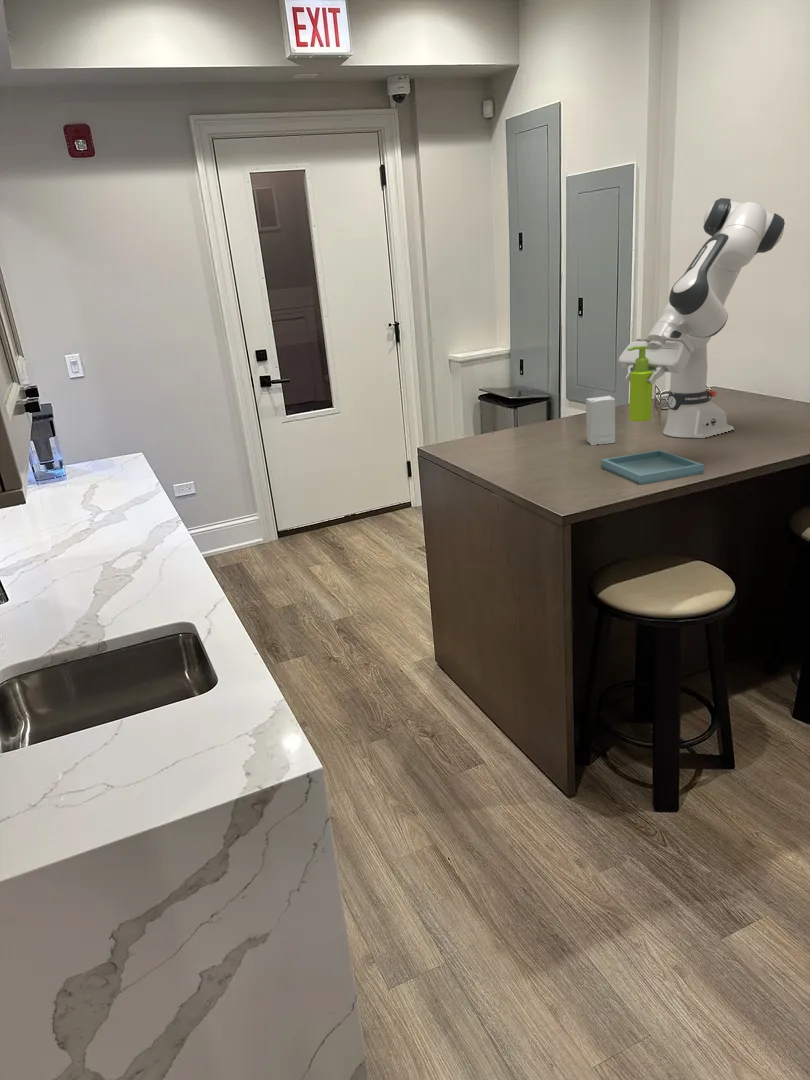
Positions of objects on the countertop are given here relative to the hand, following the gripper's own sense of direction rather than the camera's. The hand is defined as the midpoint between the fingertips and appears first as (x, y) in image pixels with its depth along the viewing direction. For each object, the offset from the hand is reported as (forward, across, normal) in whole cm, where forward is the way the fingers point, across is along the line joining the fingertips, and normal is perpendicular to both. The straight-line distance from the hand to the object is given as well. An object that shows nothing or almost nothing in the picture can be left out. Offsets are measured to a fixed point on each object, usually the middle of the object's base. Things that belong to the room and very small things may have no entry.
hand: (638, 381), depth 202 cm
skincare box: (+6, -30, +30) cm, 43 cm away
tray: (+16, +3, +20) cm, 26 cm away
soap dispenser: (+7, 0, +8) cm, 11 cm away
